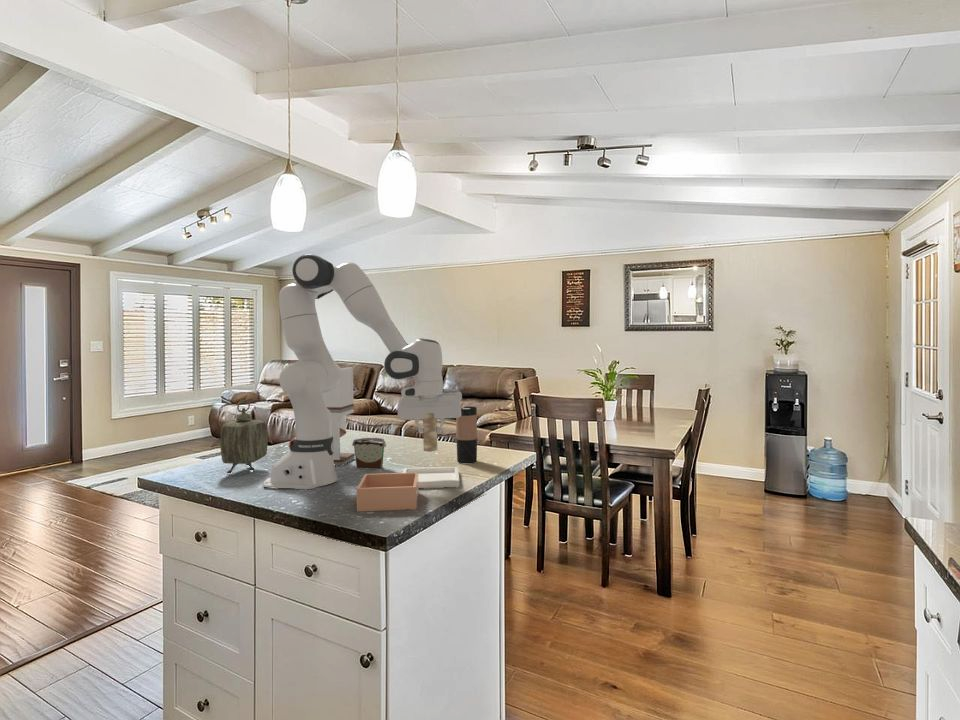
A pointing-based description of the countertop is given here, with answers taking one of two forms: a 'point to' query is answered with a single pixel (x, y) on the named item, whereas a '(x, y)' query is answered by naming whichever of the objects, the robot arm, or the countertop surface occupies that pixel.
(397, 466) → the countertop surface
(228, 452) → the tabletop clock
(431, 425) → the dowel pin
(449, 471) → the tray
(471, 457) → the travel mug
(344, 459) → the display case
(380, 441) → the food container
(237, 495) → the countertop surface
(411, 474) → the peach storage bin
